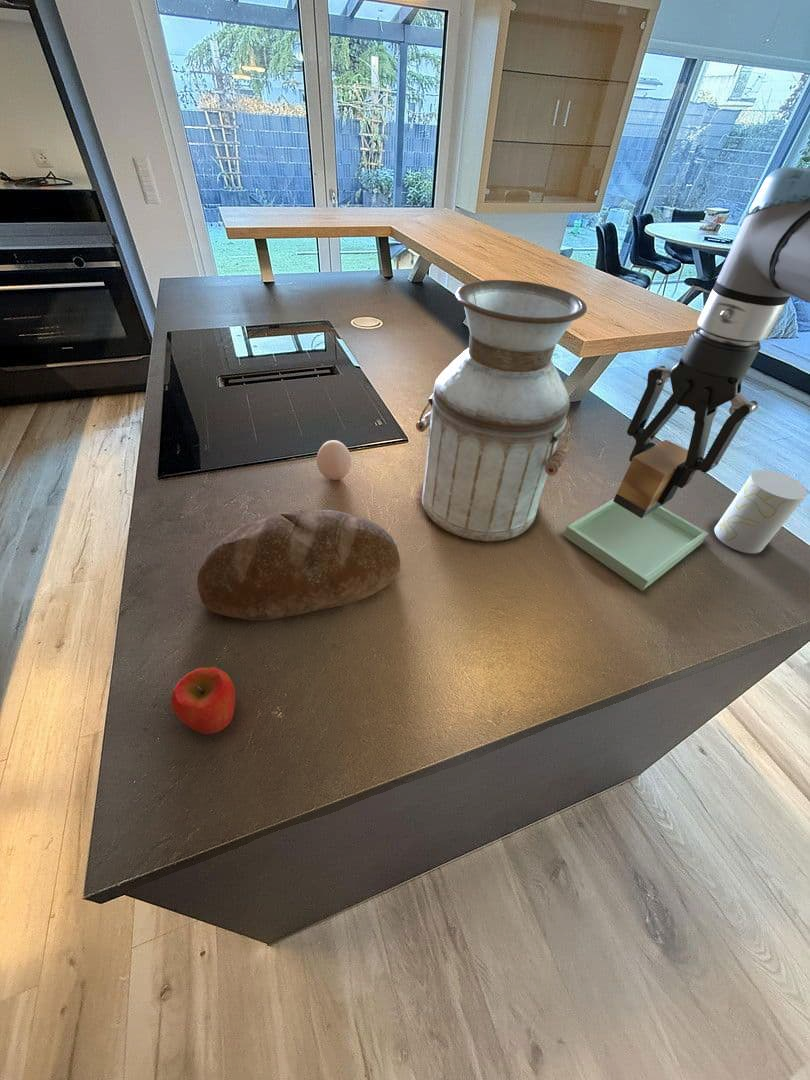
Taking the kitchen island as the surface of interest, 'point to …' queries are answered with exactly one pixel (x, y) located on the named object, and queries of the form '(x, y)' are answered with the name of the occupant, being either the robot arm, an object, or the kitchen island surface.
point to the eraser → (649, 477)
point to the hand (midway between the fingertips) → (647, 490)
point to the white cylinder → (759, 510)
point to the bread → (297, 565)
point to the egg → (334, 460)
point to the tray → (635, 541)
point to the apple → (205, 700)
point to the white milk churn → (499, 411)
